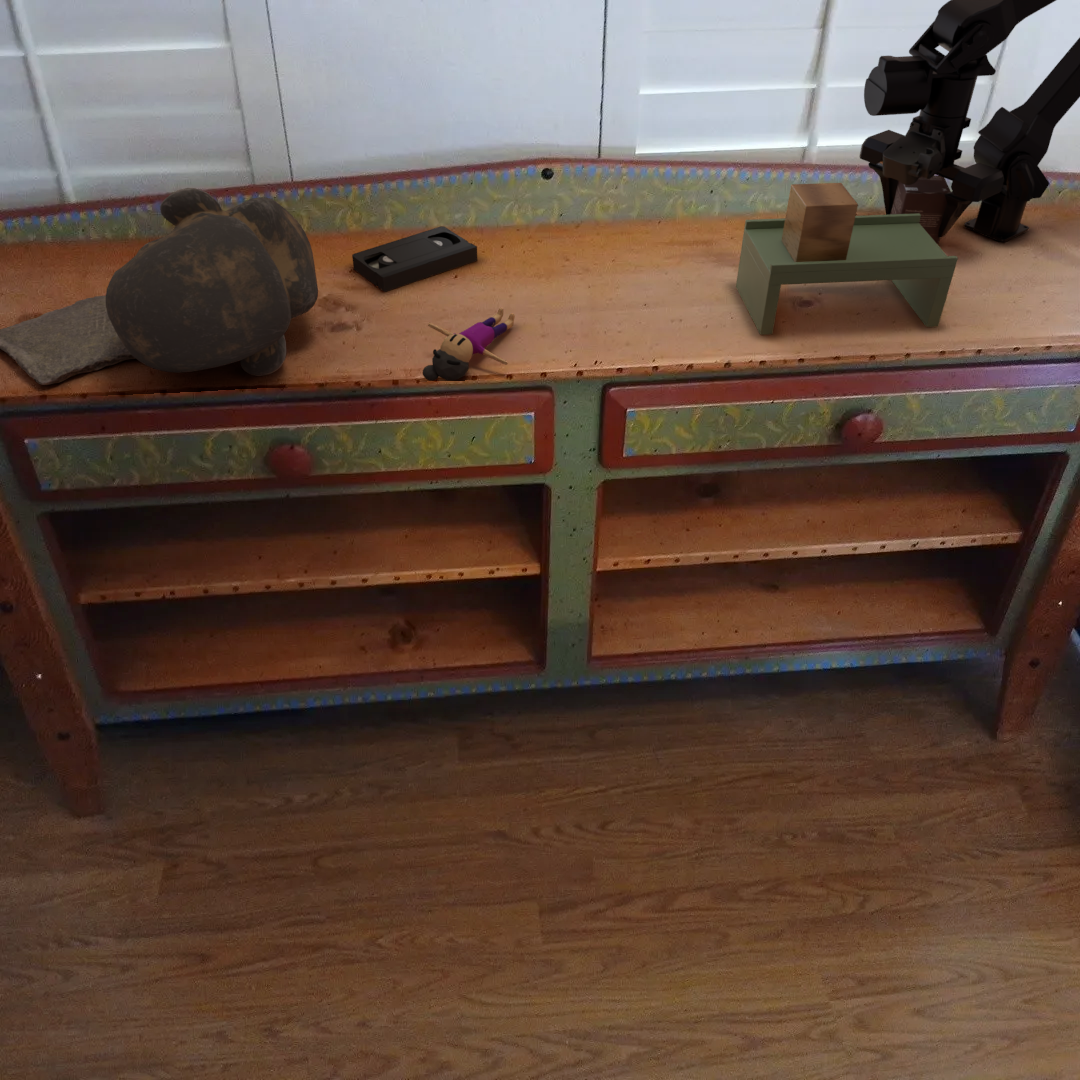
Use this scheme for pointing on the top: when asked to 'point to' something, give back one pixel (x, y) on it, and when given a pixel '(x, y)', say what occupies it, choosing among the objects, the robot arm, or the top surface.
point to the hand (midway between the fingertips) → (914, 225)
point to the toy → (465, 347)
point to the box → (923, 202)
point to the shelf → (847, 265)
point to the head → (214, 286)
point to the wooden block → (819, 222)
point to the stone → (65, 342)
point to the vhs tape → (414, 258)
